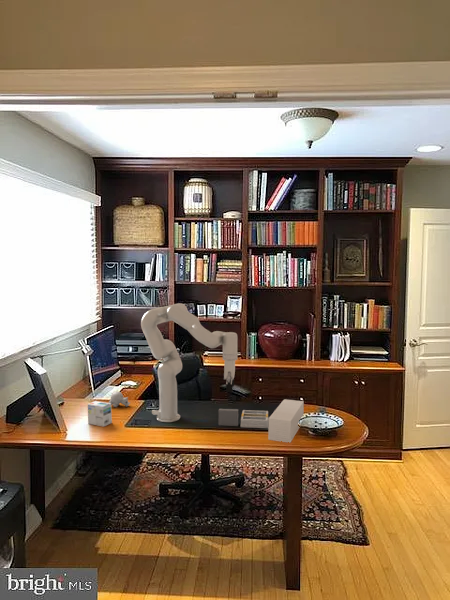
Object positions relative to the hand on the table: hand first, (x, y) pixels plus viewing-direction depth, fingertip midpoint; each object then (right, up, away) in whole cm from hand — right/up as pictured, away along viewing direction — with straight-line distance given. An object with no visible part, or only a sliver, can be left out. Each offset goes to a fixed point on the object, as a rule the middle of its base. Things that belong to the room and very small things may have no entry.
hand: (230, 389), depth 243 cm
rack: (+13, -18, +5) cm, 23 cm away
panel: (-1, -19, +1) cm, 19 cm away
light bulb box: (-68, -19, +3) cm, 71 cm away
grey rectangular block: (+29, -20, -5) cm, 35 cm away
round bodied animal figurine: (-64, -16, +31) cm, 73 cm away
